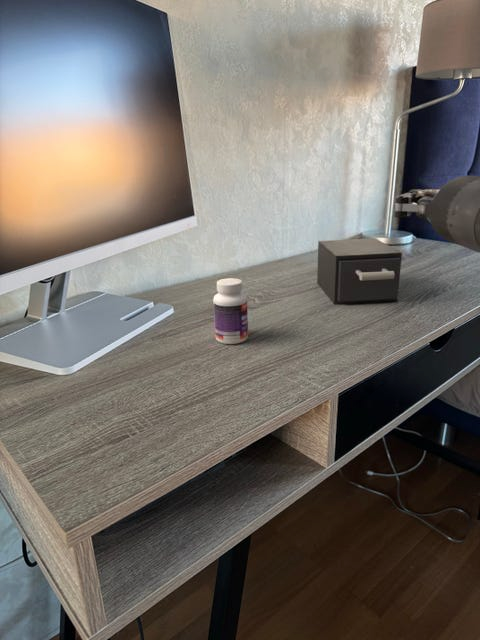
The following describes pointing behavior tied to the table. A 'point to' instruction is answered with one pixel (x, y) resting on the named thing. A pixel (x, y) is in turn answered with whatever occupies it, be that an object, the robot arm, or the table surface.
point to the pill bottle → (230, 312)
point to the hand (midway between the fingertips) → (413, 197)
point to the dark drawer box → (368, 279)
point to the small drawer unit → (347, 250)
